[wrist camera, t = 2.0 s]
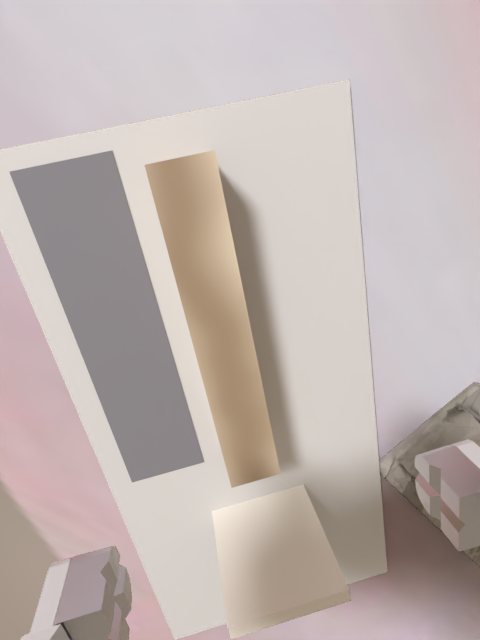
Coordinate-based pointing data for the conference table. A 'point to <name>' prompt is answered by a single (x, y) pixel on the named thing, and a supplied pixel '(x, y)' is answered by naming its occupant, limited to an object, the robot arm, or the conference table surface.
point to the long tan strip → (215, 309)
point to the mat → (173, 333)
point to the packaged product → (434, 447)
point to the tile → (275, 561)
